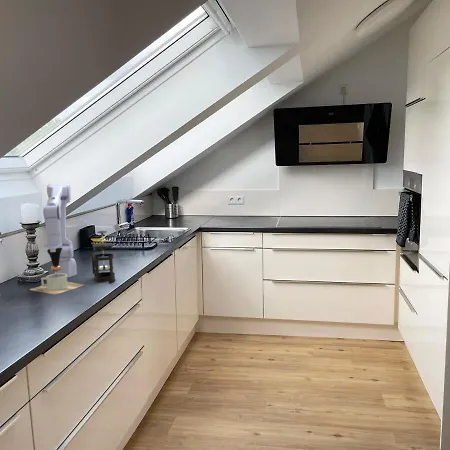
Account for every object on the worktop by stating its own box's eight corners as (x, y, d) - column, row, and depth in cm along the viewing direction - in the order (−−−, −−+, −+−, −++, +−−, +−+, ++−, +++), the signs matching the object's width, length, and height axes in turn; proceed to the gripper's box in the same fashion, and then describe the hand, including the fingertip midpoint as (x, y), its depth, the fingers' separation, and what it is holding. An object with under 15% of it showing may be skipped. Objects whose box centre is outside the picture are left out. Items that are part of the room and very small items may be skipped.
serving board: (60, 282, 211) (60, 280, 211) (85, 287, 203) (85, 285, 203) (29, 291, 198) (29, 289, 198) (54, 297, 190) (54, 294, 189)
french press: (121, 280, 214) (118, 230, 210) (106, 285, 205) (103, 233, 202) (101, 277, 219) (99, 228, 216) (86, 282, 211) (83, 231, 208)
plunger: (63, 276, 203) (63, 264, 202) (63, 279, 198) (63, 267, 197) (50, 278, 201) (49, 265, 201) (49, 281, 196) (48, 268, 195)
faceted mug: (68, 283, 206) (67, 272, 205) (68, 288, 198) (67, 277, 197) (42, 286, 202) (41, 274, 202) (41, 291, 194) (40, 279, 193)
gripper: (45, 231, 203) (48, 262, 205) (41, 237, 189) (43, 270, 191) (62, 230, 205) (65, 261, 207) (59, 236, 191) (62, 269, 193)
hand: (56, 265), depth 199 cm, fingers closed
